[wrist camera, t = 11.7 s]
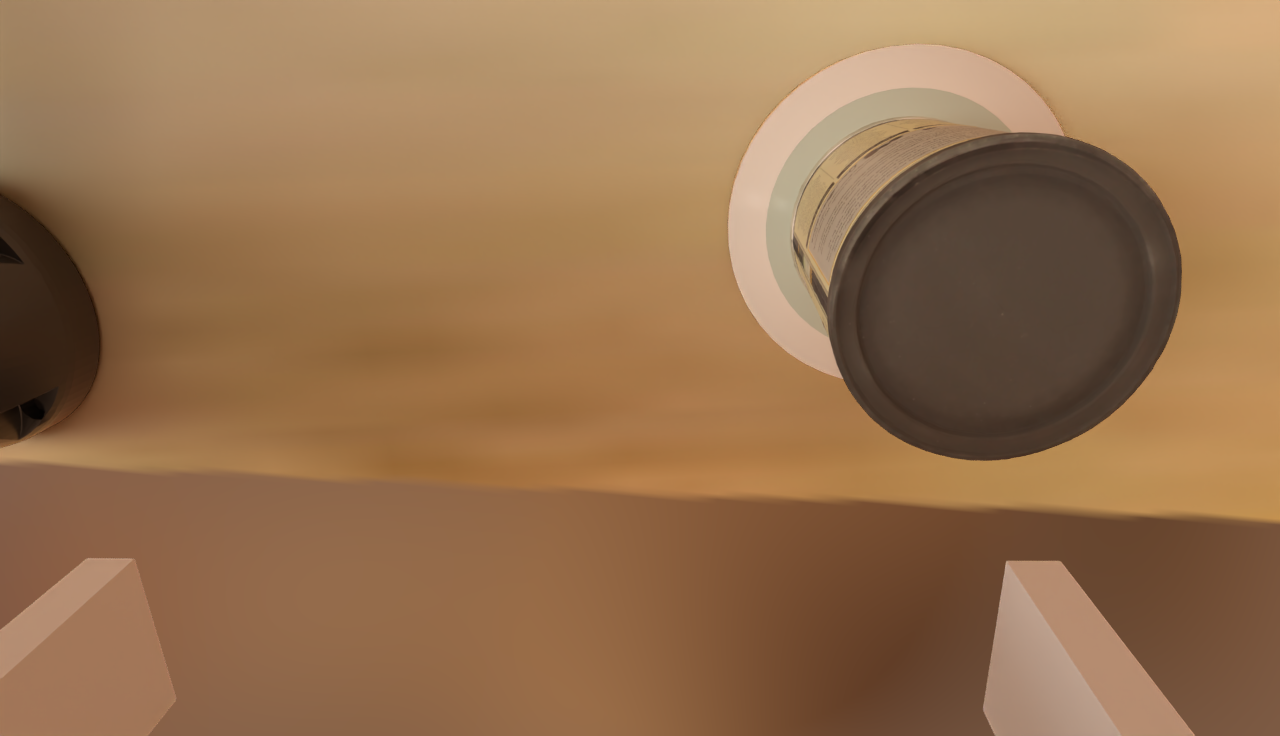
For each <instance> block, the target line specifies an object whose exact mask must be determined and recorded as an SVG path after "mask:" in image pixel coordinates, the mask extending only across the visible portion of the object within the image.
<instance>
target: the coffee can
mask: <svg viewBox="0 0 1280 736" xmlns="http://www.w3.org/2000/svg"><path fill="white" fill-rule="evenodd" d="M790 243H791V252H792V258H793V261H794V266H795V268H796V270H797V273H798V275H799V278H800V279H801V281H802V283H803V285H804V286H805V288H806V290H807V291H808V293H809V295H810V297H811V299H812V301H813V303H814V305H815V307H816V309H817V311H818V313H819V316H820V318H821V320H822V323H823V326H824V328H825V330H826V332H827V335H828V337H829V339H830V343H831V346H832V350H833V354H834V357H835V360H836V364H837V366H838V368H839V371H840V373H841V375H842V377H843V379H844V381H845V383H846V385H847V387H848V389H849V391H850V392H851V394H852V395H853V397H854V398H855V399H856V401H857V402H858V403H859V404H860V406H861V407H862V408H863V409H864V410H865V412H866V413H867V414H868V415H869V416H870V417H871V418H872V419H873V420H874V421H875V422H877V423H878V424H879V425H880V426H881V427H883V428H884V429H885V430H886V431H888V432H889V433H890V434H892V435H894V436H895V437H897V438H899V439H901V440H902V441H904V442H906V443H908V444H910V445H913V446H915V447H918V448H920V449H922V450H925V451H928V452H931V453H935V454H938V455H942V456H947V457H951V458H957V459H965V460H983V461H989V460H1001V459H1010V458H1014V457H1020V456H1026V455H1030V454H1033V453H1037V452H1040V451H1043V450H1046V449H1049V448H1052V447H1055V446H1057V445H1059V444H1062V443H1064V442H1067V441H1069V440H1071V439H1073V438H1075V437H1077V436H1079V435H1081V434H1083V433H1085V432H1087V431H1088V430H1090V429H1092V428H1093V427H1095V426H1096V425H1097V424H1099V423H1100V422H1102V421H1103V420H1105V419H1106V418H1107V417H1109V416H1110V415H1111V414H1112V413H1113V412H1114V411H1116V410H1117V409H1118V408H1119V407H1120V406H1121V405H1123V404H1124V403H1125V401H1126V400H1127V399H1128V398H1129V397H1130V396H1131V395H1132V394H1133V393H1134V392H1135V391H1136V390H1137V388H1138V387H1139V386H1140V385H1141V384H1142V382H1143V381H1144V380H1145V378H1146V377H1147V376H1148V374H1149V373H1150V372H1151V371H1152V369H1153V367H1154V365H1155V363H1156V361H1157V360H1158V358H1159V357H1160V355H1161V354H1162V352H1163V350H1164V348H1165V346H1166V344H1167V342H1168V339H1169V337H1170V334H1171V331H1172V329H1173V326H1174V323H1175V319H1176V316H1177V312H1178V307H1179V303H1180V296H1181V275H1182V269H1181V255H1180V250H1179V246H1178V241H1177V237H1176V234H1175V230H1174V228H1173V225H1172V223H1171V221H1170V218H1169V216H1168V214H1167V212H1166V211H1165V209H1164V207H1163V205H1162V203H1161V201H1160V200H1159V198H1158V197H1157V195H1156V194H1155V192H1154V191H1153V190H1152V189H1151V188H1150V186H1149V185H1148V184H1147V183H1146V182H1145V181H1144V180H1143V179H1142V178H1141V177H1140V176H1139V175H1138V174H1137V173H1136V172H1135V171H1134V170H1133V169H1132V168H1130V167H1129V166H1128V165H1126V164H1125V163H1124V162H1122V161H1121V160H1119V159H1117V158H1116V157H1114V156H1113V155H1111V154H1109V153H1108V152H1106V151H1104V150H1102V149H1100V148H1097V147H1095V146H1093V145H1090V144H1087V143H1085V142H1082V141H1079V140H1075V139H1072V138H1069V137H1065V136H1060V135H1054V134H1045V133H1030V132H1017V133H1011V132H1005V131H998V130H992V129H986V128H980V127H976V126H969V125H961V124H954V123H950V122H947V121H943V120H939V119H935V118H930V117H919V116H906V117H896V118H890V119H885V120H882V121H878V122H874V123H871V124H869V125H866V126H864V127H862V128H860V129H858V130H856V131H855V132H853V133H851V134H849V135H847V136H846V137H844V138H843V139H842V140H840V141H839V142H838V143H836V144H835V145H834V146H833V147H832V148H830V149H829V150H828V151H827V152H826V153H825V154H824V155H823V156H822V158H821V159H820V160H819V161H818V162H817V163H816V165H815V166H814V167H813V169H812V170H811V172H810V173H809V175H808V176H807V178H806V180H805V181H804V183H803V184H802V186H801V188H800V191H799V194H798V197H797V200H796V202H795V205H794V209H793V213H792V218H791V226H790Z"/></svg>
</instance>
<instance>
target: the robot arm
mask: <svg viewBox="0 0 1280 736" xmlns="http://www.w3.org/2000/svg"><path fill="white" fill-rule="evenodd" d="M98 359H99V332H98V326H97V320H96V316H95V312H94V308H93V305H92V302H91V299H90V296H89V294H88V291H87V289H86V287H85V285H84V282H83V280H82V279H81V277H80V275H79V273H78V271H77V269H76V268H75V266H74V264H73V263H72V261H71V260H70V258H69V257H68V255H67V254H66V253H65V251H64V250H63V249H62V247H61V246H60V245H59V244H58V243H57V241H56V240H55V239H54V238H53V237H52V236H51V235H50V233H49V232H48V231H47V230H46V229H45V228H44V227H43V226H42V225H41V224H39V223H38V222H37V221H36V220H35V219H34V218H33V217H32V216H30V215H29V214H28V213H27V212H26V211H24V210H23V209H21V208H20V207H19V206H17V205H16V204H15V203H13V202H11V201H10V200H8V199H7V198H5V197H3V196H2V195H0V448H2V447H6V446H10V445H13V444H16V443H18V442H21V441H24V440H26V439H28V438H30V437H32V436H34V435H36V434H38V433H40V432H42V431H44V430H46V429H47V428H49V427H51V426H53V425H55V424H57V423H58V422H60V421H62V420H63V419H65V418H66V417H67V416H69V415H70V414H71V413H72V412H73V411H74V410H75V409H76V408H77V407H78V406H79V405H80V404H81V402H82V401H83V400H84V398H85V397H86V395H87V393H88V392H89V390H90V388H91V385H92V383H93V380H94V378H95V374H96V370H97V365H98ZM175 701H176V696H175V692H174V689H173V686H172V682H171V679H170V675H169V672H168V669H167V665H166V662H165V659H164V655H163V652H162V649H161V645H160V642H159V639H158V635H157V632H156V628H155V625H154V622H153V619H152V615H151V612H150V608H149V605H148V602H147V598H146V595H145V592H144V588H143V585H142V581H141V578H140V575H139V571H138V568H137V565H136V561H135V559H133V558H132V559H131V558H87V559H86V560H84V561H83V562H82V563H81V564H80V565H78V566H77V567H76V568H75V569H73V570H72V571H71V572H70V573H69V574H67V575H66V576H65V577H64V578H63V579H61V580H60V581H59V582H58V583H57V584H56V585H54V586H53V587H52V588H51V589H49V590H48V591H47V592H46V593H44V594H43V595H42V596H41V597H40V598H38V599H37V600H36V601H35V602H34V603H32V604H31V605H30V606H29V607H28V608H27V609H25V610H24V611H23V612H22V613H20V614H19V615H18V616H17V617H15V618H14V619H13V620H12V621H11V622H10V623H8V624H7V625H6V626H5V627H3V628H2V629H1V630H0V736H148V735H149V734H150V732H151V731H152V730H153V728H154V727H155V726H156V725H157V723H158V722H159V721H160V720H161V718H162V717H163V716H164V715H165V713H166V712H167V711H168V710H169V708H170V707H171V706H172V704H173V703H174V702H175ZM983 711H984V713H985V715H986V717H987V719H988V721H989V724H990V726H991V728H992V730H993V732H994V734H995V736H1195V735H1194V734H1193V733H1192V731H1191V730H1190V729H1189V727H1188V726H1187V725H1186V723H1185V722H1184V721H1183V720H1182V718H1181V717H1180V716H1179V714H1178V713H1177V712H1176V710H1175V709H1174V708H1173V707H1172V705H1171V704H1170V703H1169V701H1168V700H1167V699H1166V697H1165V696H1164V695H1163V693H1162V692H1161V691H1160V690H1159V688H1158V687H1157V686H1156V684H1155V683H1154V682H1153V681H1152V679H1151V678H1150V677H1149V675H1148V674H1147V673H1146V671H1145V670H1144V669H1143V667H1142V666H1141V665H1140V664H1139V662H1138V661H1137V660H1136V659H1135V657H1134V656H1133V654H1132V653H1131V652H1130V651H1129V649H1128V648H1127V647H1126V645H1125V644H1124V643H1123V642H1122V640H1121V639H1120V638H1119V636H1118V635H1117V634H1116V632H1115V631H1114V630H1113V629H1112V627H1111V626H1110V625H1109V623H1108V622H1107V621H1106V619H1105V618H1104V617H1103V616H1102V615H1101V613H1100V612H1099V610H1098V609H1097V608H1096V607H1095V605H1094V604H1093V603H1092V601H1091V600H1090V599H1089V597H1088V596H1087V595H1086V593H1085V592H1084V591H1083V590H1082V588H1081V587H1080V586H1079V584H1078V583H1077V582H1076V580H1075V579H1074V578H1073V577H1072V575H1071V574H1070V573H1069V571H1068V570H1067V569H1066V567H1065V566H1064V565H1063V564H1062V562H1061V561H1006V566H1005V573H1004V579H1003V586H1002V592H1001V598H1000V604H999V611H998V617H997V624H996V630H995V636H994V643H993V649H992V655H991V662H990V668H989V675H988V681H987V687H986V693H985V700H984V706H983Z"/></svg>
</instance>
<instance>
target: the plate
mask: <svg viewBox="0 0 1280 736" xmlns="http://www.w3.org/2000/svg"><path fill="white" fill-rule="evenodd" d="M906 116H919V117H930V118H935V119H939V120H943V121H947V122H950V123H954V124H961V125H969V126H976V127H980V128H986V129H992V130H998V131H1005V132H1011V133H1017V132H1030V133H1045V134H1054V135H1060V136H1065V135H1064V133H1063V131H1062V129H1061V127H1060V125H1059V123H1058V121H1057V119H1056V117H1055V116H1054V115H1053V113H1052V112H1051V110H1050V109H1049V108H1048V106H1047V105H1046V103H1045V102H1044V101H1043V99H1042V98H1041V97H1040V96H1039V95H1038V94H1037V93H1036V92H1035V91H1034V90H1033V89H1032V88H1031V87H1030V86H1029V85H1028V84H1027V83H1026V82H1025V81H1024V80H1022V79H1021V78H1020V77H1018V76H1017V75H1016V74H1014V73H1013V72H1011V71H1010V70H1009V69H1007V68H1005V67H1004V66H1002V65H1000V64H998V63H996V62H994V61H992V60H990V59H989V58H987V57H984V56H981V55H978V54H975V53H972V52H970V51H967V50H963V49H958V48H953V47H948V46H943V45H930V44H909V45H897V46H888V47H883V48H879V49H874V50H870V51H865V52H862V53H859V54H856V55H853V56H851V57H848V58H845V59H842V60H840V61H838V62H836V63H834V64H832V65H830V66H828V67H826V68H824V69H822V70H820V71H819V72H817V73H816V74H814V75H813V76H811V77H810V78H808V79H807V80H805V81H804V82H803V83H801V84H800V85H798V86H797V87H796V88H795V89H794V90H793V91H792V92H790V93H789V94H788V95H787V96H786V97H785V98H784V99H783V100H781V102H780V103H779V104H778V105H777V106H776V107H775V108H774V109H773V111H772V112H771V113H770V114H769V115H768V116H767V117H766V119H765V120H764V121H763V123H762V124H761V126H760V127H759V129H758V130H757V132H756V133H755V135H754V136H753V138H752V140H751V141H750V143H749V145H748V147H747V149H746V151H745V153H744V155H743V157H742V159H741V162H740V165H739V168H738V170H737V173H736V176H735V179H734V183H733V187H732V192H731V196H730V201H729V212H728V244H729V251H730V257H731V262H732V268H733V272H734V275H735V278H736V281H737V284H738V287H739V290H740V292H741V294H742V296H743V298H744V300H745V302H746V304H747V306H748V308H749V310H750V311H751V313H752V314H753V316H754V317H755V319H756V320H757V322H758V323H759V325H760V326H761V327H762V328H763V329H764V330H765V331H766V333H767V334H768V335H769V336H770V337H771V338H772V339H773V340H774V341H775V342H776V343H777V344H778V345H779V346H781V347H782V348H783V349H784V350H785V351H786V352H788V353H789V354H791V355H792V356H794V357H795V358H797V359H798V360H800V361H801V362H803V363H804V364H806V365H808V366H810V367H812V368H815V369H817V370H819V371H821V372H823V373H826V374H829V375H832V376H835V377H838V378H841V379H843V377H842V375H841V373H840V371H839V368H838V366H837V364H836V360H835V357H834V354H833V350H832V346H831V343H830V339H829V337H828V335H827V332H826V330H825V328H824V326H823V323H822V320H821V318H820V316H819V313H818V311H817V309H816V307H815V305H814V303H813V301H812V299H811V297H810V295H809V293H808V291H807V290H806V288H805V286H804V285H803V283H802V281H801V279H800V278H799V275H798V273H797V270H796V268H795V266H794V261H793V258H792V252H791V243H790V226H791V218H792V213H793V209H794V205H795V202H796V200H797V197H798V194H799V191H800V188H801V186H802V184H803V183H804V181H805V180H806V178H807V176H808V175H809V173H810V172H811V170H812V169H813V167H814V166H815V165H816V163H817V162H818V161H819V160H820V159H821V158H822V156H823V155H824V154H825V153H826V152H827V151H828V150H829V149H830V148H832V147H833V146H834V145H835V144H836V143H838V142H839V141H840V140H842V139H843V138H844V137H846V136H847V135H849V134H851V133H853V132H855V131H856V130H858V129H860V128H862V127H864V126H866V125H869V124H871V123H874V122H878V121H882V120H885V119H890V118H896V117H906Z"/></svg>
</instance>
